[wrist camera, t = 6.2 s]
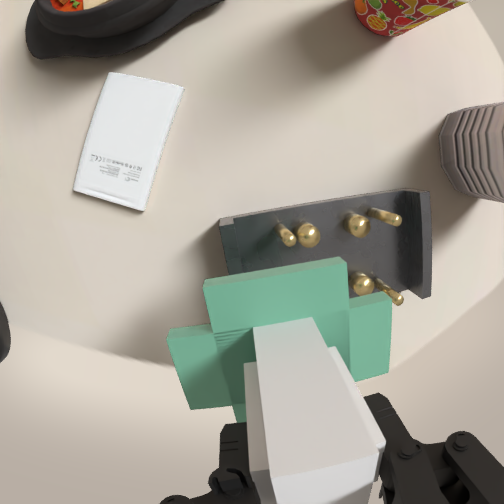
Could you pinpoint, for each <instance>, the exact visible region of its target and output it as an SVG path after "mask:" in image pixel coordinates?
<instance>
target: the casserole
mask: <svg viewBox="0 0 504 504" xmlns="http://www.w3.org/2000/svg"><path fill="white" fill-rule="evenodd" d="M221 1H224V0H35V1H34V3H33V5H32V7H31V9H30V12H29V15H28V18H27V23H26V29H25V32H26V42H27V46H28V49H29V51H30V52H31V54H32V55H33V56H34V57H36V58H39V59H48V58H54V57H60V56H65V55H70V56H83V57H94V58H95V57H104V56H112V55H116V54H120V53H124V52H128V51H130V50H133V49H135V48H138V47H140V46H143V45H146V44H147V43H149V42H151V41H153V40H155V39H157V38H158V37H160V36H162V35H164V34H165V33H166V32H168V31H169V30H171V29H172V28H173V27H175V26H176V25H178V24H179V23H180V22H182V21H183V20H185V19H186V18H188V17H189V16H191V15H192V14H194V13H196V12H198V11H200V10H203V9H205V8H207V7H209V6H212V5H214V4H216V3H219V2H221Z"/></svg>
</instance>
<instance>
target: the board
mask: <svg viewBox="0 0 504 504" xmlns="http://www.w3.org/2000/svg"><path fill="white" fill-rule="evenodd" d="M203 292H204V296H205V301H206V305H207V309H208V314H209V318H210V322H211V323H210V324H203V325H196V326H188V327H181V328H173V329H170V331H169V334H168V336H167V339H166V341H167V344H168V347H169V350H170V353H171V356H172V359H173V362H174V365H175V368H176V371H177V374H178V376H179V380H180V382H181V385H182V388H183V391H184V393H185V396H186V399H187V401H188V404H189V407H190V409H191V410H194V409H205V408H214V407H224V406H232V407H233V410H234V413H235V417H236V421H237V423H240V422H247V417H246V399H245V380H244V363H249V362H256V361H257V368H258V377H259V385H260V394H261V402H262V411H263V419H264V428H265V436H266V444H267V452H268V461H269V469H270V477H271V481H272V485H273V489H274V493H275V497H276V501H277V504H368V500H369V496H370V493H371V489H372V484H373V480H374V476H375V471H376V467H377V462H378V457H379V451H378V449H377V447H376V445H375V443H374V440H373V438H372V436H371V434H370V432H369V430H368V428H367V426H366V424H365V422H364V420H363V418H362V416H361V414H360V412H359V409H358V407H357V405H356V403H355V401H354V399H353V397H352V395H351V393H350V391H349V389H348V387H347V385H346V383H345V381H344V379H343V377H342V375H341V373H340V371H339V369H338V367H337V365H336V363H335V361H334V359H333V357H332V355H331V353H330V351H329V349H328V348H329V347H334V346H336V348H337V350H338V352H339V354H340V355H341V357H342V359H343V361H344V363H345V365H346V366H347V368H348V370H349V372H350V374H351V376H352V378H353V379H354V381H355V382H357V381H361V380H364V379H368V378H372V377H375V376H379V375H382V374H385V373H388V371H389V359H390V344H391V323H392V298H390V297H389V296H388V295H387V294H386V293H385V292H383V291H381V292H377V293H372V294H368V295H364V296H359V297H354V298H350V299H349V290H348V273H347V263H346V262H345V261H344V260H343V259H342V258H341V257H333V258H328V259H322V260H316V261H311V262H305V263H299V264H294V265H288V266H282V267H276V268H271V269H265V270H259V271H253V272H247V273H241V274H235V275H229V276H223V277H217V278H210V279H205V281H204V284H203Z"/></svg>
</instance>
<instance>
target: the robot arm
mask: <svg viewBox="0 0 504 504" xmlns="http://www.w3.org/2000/svg"><path fill="white" fill-rule="evenodd" d="M10 344H11V337H10V330H9V324H8V321H7V317H6V315H5V312H4V309H3V307H2V305H1V303H0V362H2V361H3V360H4V359H5V358H6V356H7V355H8V353H9V350H10ZM328 349H329V351H330V353H331V355H332V357H333V359H334V361H335V363H336V365H337V367H338V369H339V371H340V373H341V375H342V377H343V379H344V381H345V383H346V385H347V387H348V389H349V391H350V393H351V395H352V397H353V399H354V401H355V403H356V405H357V407H358V409H359V412H360V414H361V416H362V418H363V420H364V422H365V424H366V426H367V428H368V430H369V432H370V434H371V436H372V438H373V440H374V443H375V445H376V447H377V449H378V451H379V457H378V462H377V467H376V471H375V476H374V480H373V482H376V481H377V480H378V477H379V475H380V477H381V480H382V486H381V490H380V493H379V498H381V497H382V495H383V500H384V504H504V467H503V466H502V465H501V464H500V463H499V462H498V461H497V460H496V459H495V457H494V456H493V455H492V454H491V453H490V452H489V451H488V450H487V449H486V448H485V447H484V446H483V445H482V444H481V443H480V441H479V440H478V439H477V438H476V437H475V436H474V435H472V434H471V433H469V432H465V431H458V432H455V433H453V434H451V435H450V436H449V437H448V438H447V440H446V442H441V443H434V444H423V443H421V442H419V441H417V440H415V439H413V438H412V437H411V436H410V434H409V433H408V431H407V429H406V428H405V426H404V425H403V423H402V421H401V419H400V418H399V416H398V415H397V414H396V411H395V410H394V408H393V407H392V405H391V403H390V402H389V400H388V399H387V398H386V397H385V396H383V395H382V394H380V393H376V394H372V395H369V396H365V397H363V396H362V395H361V392H360V391H359V389H358V387H357V385H356V383H355V381H354V379H353V378H352V376H351V374H350V372H349V370H348V368H347V366H346V365H345V363H344V361H343V359H342V357H341V355H340V354H339V352H338V350H337V348H336V346H334V347H329V348H328ZM244 380H245V399H246V417H247V422H240V423H233V424H225V426H224V428H223V429H222V431H221V433H220V454H219V468H218V469H216V470H215V471H214V472H212V474H211V475H210V477H209V481H208V484H209V486H210V488H211V489H212V491H210V492H209V493H207V494H205V495H202V496H199V497H195V498H192V499H189V498H187V497H186V496H182V495H172V496H169V497H167V498H165V499H164V500H162V501H161V503H160V504H277V501H276V497H275V493H274V489H273V485H272V481H271V477H270V469H269V461H268V452H267V444H266V436H265V428H264V419H263V411H262V402H261V394H260V385H259V377H258V368H257V361H256V362H249V363H244Z"/></svg>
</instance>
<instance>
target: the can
mask: <svg viewBox="0 0 504 504" xmlns="http://www.w3.org/2000/svg"><path fill="white" fill-rule="evenodd" d="M439 145H440V156H441V166H442V168H443V170H444V171H445V173H446V175H447V176H448V178H449V180H450V182H451V184H452V185H453V187H454V189H455V190H458V191H460V192H462V193H465V194H467V195H469V196H472V197H476V198H482V199H487V200H492V201H497V202H502V203H504V102H500V103H493V104H487V105H481V106H475V107H469V108H464V109H461V110H458V111H455V112H453V113H450V114H448V115H447V118H446V120H445V122H444V125H443V127H442V130H441V132H440V134H439Z"/></svg>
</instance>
